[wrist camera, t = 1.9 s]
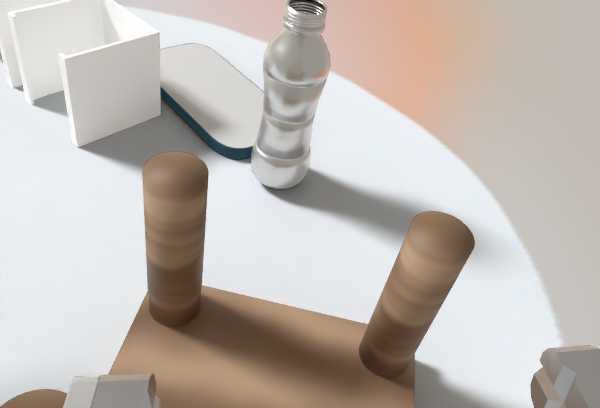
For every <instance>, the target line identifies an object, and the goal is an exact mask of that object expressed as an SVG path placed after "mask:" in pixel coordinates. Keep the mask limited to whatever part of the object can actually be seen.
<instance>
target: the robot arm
mask: <svg viewBox="0 0 600 408" xmlns="http://www.w3.org/2000/svg"><path fill="white" fill-rule="evenodd" d="M540 362H541V364H542V365H543V368H541V369H540V370H539V371H537V372H536V373H535V374H534V376H533V379H532V382H531V398H532V402H533V405H534V408H600V345H598V346H590V345H588V346H576V347H561V348H548V349H547V350H545V351H544V352H543V353H542V356H541V358H540ZM156 385H157V384H156V380H155V376H154V374H126V375H99V376H80V377H75V378H74V380H73V381H72V383H71V384H70V387H69V390H68V393H67V397H66V400H65V403H64V406H63V408H161V404H160V398H158V397H157V396H156V395H155V392H156Z"/></svg>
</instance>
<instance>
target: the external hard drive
mask: <svg viewBox="0 0 600 408" xmlns="http://www.w3.org/2000/svg"><path fill="white" fill-rule="evenodd" d="M160 95H161V98H162V99H163V100H164V101H165V102H166V103H167V104H168V105H169V106H170V107H171V108H172V109H173V110H174V111H175V112H176V113H177V114H178V115H179V116H180V117H181V118H182V119H183V120H184V121H185V122H186V123H187V124H188V125H189V126H190V127H191V128H192V129H193V130H194V131H195V132H196V133H197V134H198V135H199V136H200V137H201V138H202V139H203V140H204V141H205V142H206V143H207V144H208V145H209V146H210V147H211V148H212V149H213V150H214V151H216V152H217V153H219V154H220V155H222V156H224V157H227V158H231V159H245V158H249V157H251V153H252V150H253V146H254V143H255V141H256V138H257V136H258V131H259V127H260V123H261V118H262V114H263V100H264V91H262V90H261V89H260V88H259V87H258V86H256V85H255V84H254V83H253V82H252V81H250V80H249V79H248V78H247V77H246V76H244V75H243V74H242V73H241V72H240V71H239V70H237V69H236V68H235V67H234V66H233V65H231V64H230V63H229V62H228V61H227V60H225V59H224V58H223V57H222V56H221V55H219V54H218V53H217V52H216V51H214V50H213V49H211V48H209V47H207V46H205V45H201V44H194V43H190V44H183V45H177V46H173V47H168V48H164V49H160Z"/></svg>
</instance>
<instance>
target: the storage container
mask: <svg viewBox="0 0 600 408" xmlns="http://www.w3.org/2000/svg"><path fill="white" fill-rule="evenodd" d="M0 51H1V56H2V60H3V64H4V68H5V73H6V77H7V81H8V84H9V85H10V86H11V87H12V88H15V87H18V86H22V85H23V89H24V94H25V98H26V101H27V102H28V103H30V104H34V101H33V100H35V99H38V98H41V97H44V96H47V95H50V94H53V93H57V92H60V91H63V90H64V95H65V101H66V107H67V114H68V120H69V126H70V133H71V139H72V143H73V144H74V145H75V146H76V147H77V148H78V147H81V146H83V145H86V144H88V143H91V142H93V141H96V140H99V139H101V138H104V137H106V136H109V135H111V134H114V133H116V132H119V131H121V130H124V129H127V128H129V127H132V126H134V125H137V124H139V123H142V122H144V121H147V120H149V119H152V118H155V117H157V116H160V115H161V95H160V38H159V32H158V31H157V30H156V29H154V28H153V27H151V26H150V25H148V24H147V23H145V22H144V21H142V20H141V19H139V18H138V17H136V16H135V15H134V14H132V13H131V12H129V11H128V10H126V9H125V8H123V7H122V6H120V5H119V4H117V3H116V2H115V1H113V0H0Z"/></svg>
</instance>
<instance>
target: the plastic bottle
mask: <svg viewBox="0 0 600 408" xmlns="http://www.w3.org/2000/svg"><path fill="white" fill-rule="evenodd" d="M326 13H327V7H326V5H325V4H324V3H322V2H321V1H319V0H288V2H287V4H286V11H285V15H284V17H283V25H284V26H285V28H283V29H282V30H281V31H280V32H279V33H278V34H277V35H276V36H275V37H274V38H273V39H272V41H271V42H270V43H269V44H268V46H267V49H266V51H265V53H264V62H263V67H264V68H263V71H264V100H263V114H262V118H261V123H260V127H259V131H258V136H257V138H256V141H255V143H254V146H253V150H252V153H251V166H252V172H253V173H254V175H255V177H256V178H257V179H258V180H259V181H260V182H261V183H262V184H263V185H265V186H267V187H270V188H274V189H288V188H291V187H294V186H295V185H297V184H298V183H300V182H301V181H302V180H303V179H304V177H305V175H306V173H307V171H308V169H309V166H310V155H311V154H310V141H311V132H312V123H313V119H314V115H315V111H316V108H317V104H318V100H319V98H320V95H321V92H322V90H323V87H324V85H325V82H326V79H327V77H328V73H329V70H330V66H331V64H330V54H329V51H328V48H327V46H326V43H325V42H324V39H323V38H322V36H321V32H323V31H324V28H325V18H326Z"/></svg>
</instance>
